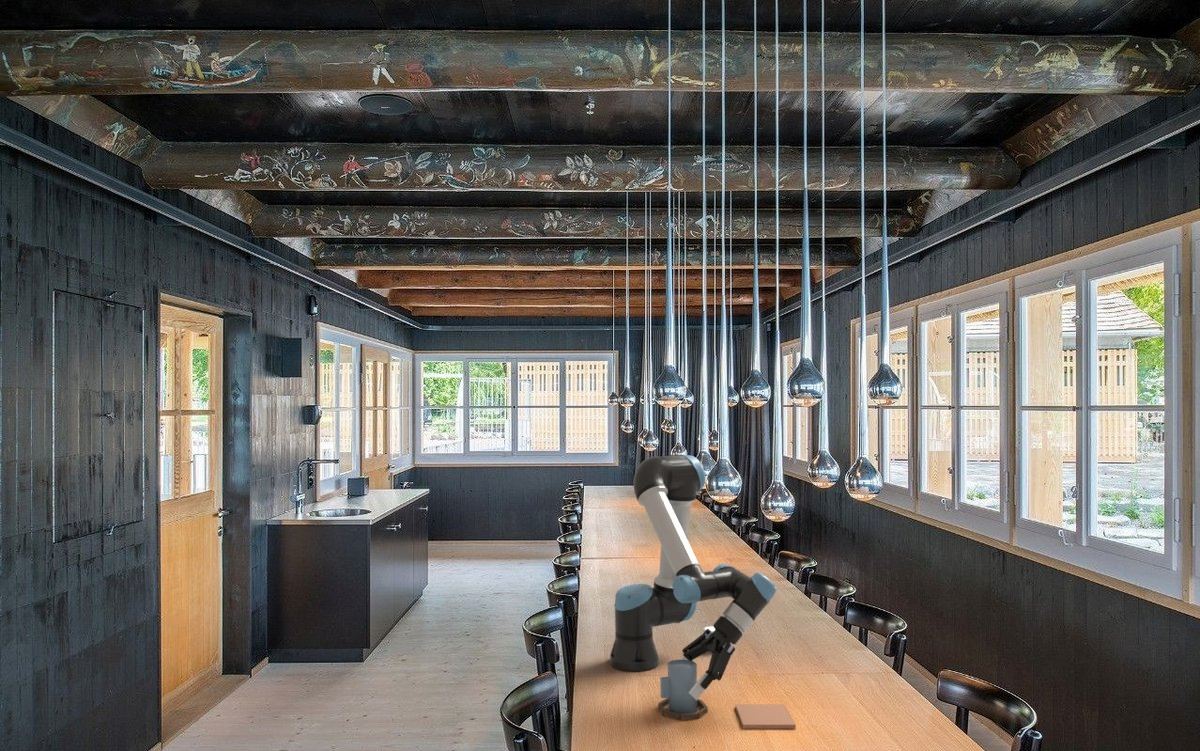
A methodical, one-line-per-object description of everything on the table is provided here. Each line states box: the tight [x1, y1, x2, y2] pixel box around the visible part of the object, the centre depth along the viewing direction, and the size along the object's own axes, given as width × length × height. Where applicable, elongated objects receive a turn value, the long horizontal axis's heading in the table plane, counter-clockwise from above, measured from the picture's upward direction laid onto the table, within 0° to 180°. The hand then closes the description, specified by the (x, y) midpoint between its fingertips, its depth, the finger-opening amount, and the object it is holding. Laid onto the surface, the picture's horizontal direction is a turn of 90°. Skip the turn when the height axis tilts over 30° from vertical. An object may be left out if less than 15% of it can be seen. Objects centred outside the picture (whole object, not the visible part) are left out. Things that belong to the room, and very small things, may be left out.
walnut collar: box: [657, 698, 709, 721], centre depth 206 cm, size 12×12×1 cm
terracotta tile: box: [734, 703, 797, 730], centre depth 200 cm, size 13×13×1 cm
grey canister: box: [659, 659, 698, 714], centre depth 206 cm, size 10×8×12 cm
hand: (681, 687), depth 205 cm, fingers open, 13 cm apart
